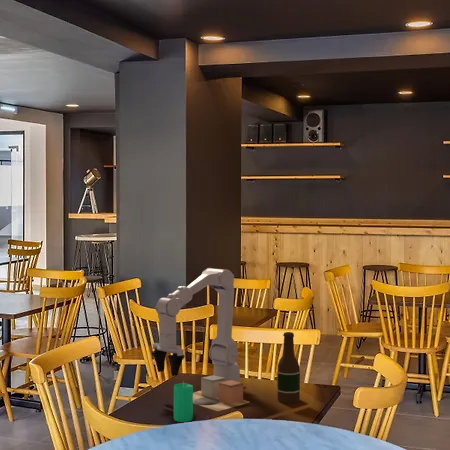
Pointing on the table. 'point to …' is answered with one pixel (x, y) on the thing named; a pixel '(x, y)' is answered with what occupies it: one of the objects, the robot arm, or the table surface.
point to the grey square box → (211, 386)
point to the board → (214, 402)
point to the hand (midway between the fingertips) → (167, 373)
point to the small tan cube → (230, 391)
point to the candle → (183, 402)
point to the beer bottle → (288, 373)
